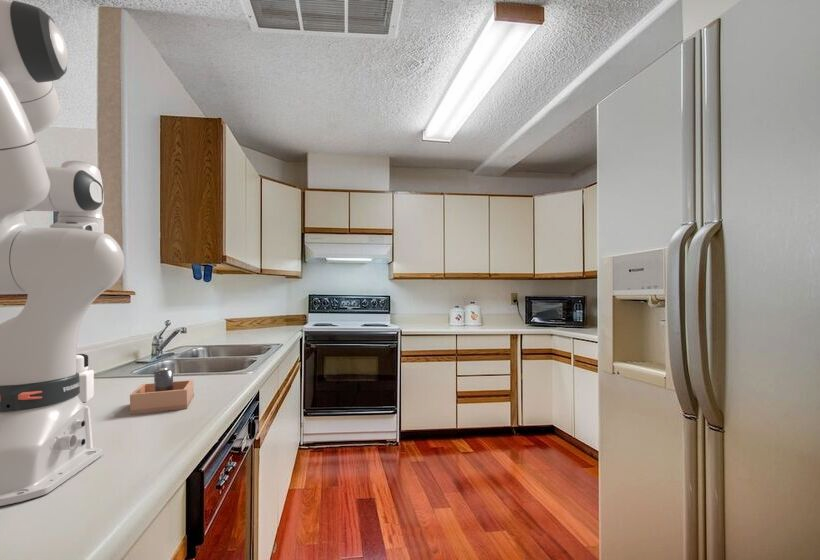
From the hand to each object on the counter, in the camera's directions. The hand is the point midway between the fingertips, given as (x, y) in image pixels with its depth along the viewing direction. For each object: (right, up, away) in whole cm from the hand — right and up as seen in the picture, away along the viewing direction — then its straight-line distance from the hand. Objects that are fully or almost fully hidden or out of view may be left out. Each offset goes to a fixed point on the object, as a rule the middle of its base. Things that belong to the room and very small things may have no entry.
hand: (81, 288), depth 101 cm
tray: (+19, -29, +2) cm, 34 cm away
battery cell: (+19, -28, +2) cm, 34 cm away
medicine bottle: (-8, -30, +7) cm, 31 cm away
